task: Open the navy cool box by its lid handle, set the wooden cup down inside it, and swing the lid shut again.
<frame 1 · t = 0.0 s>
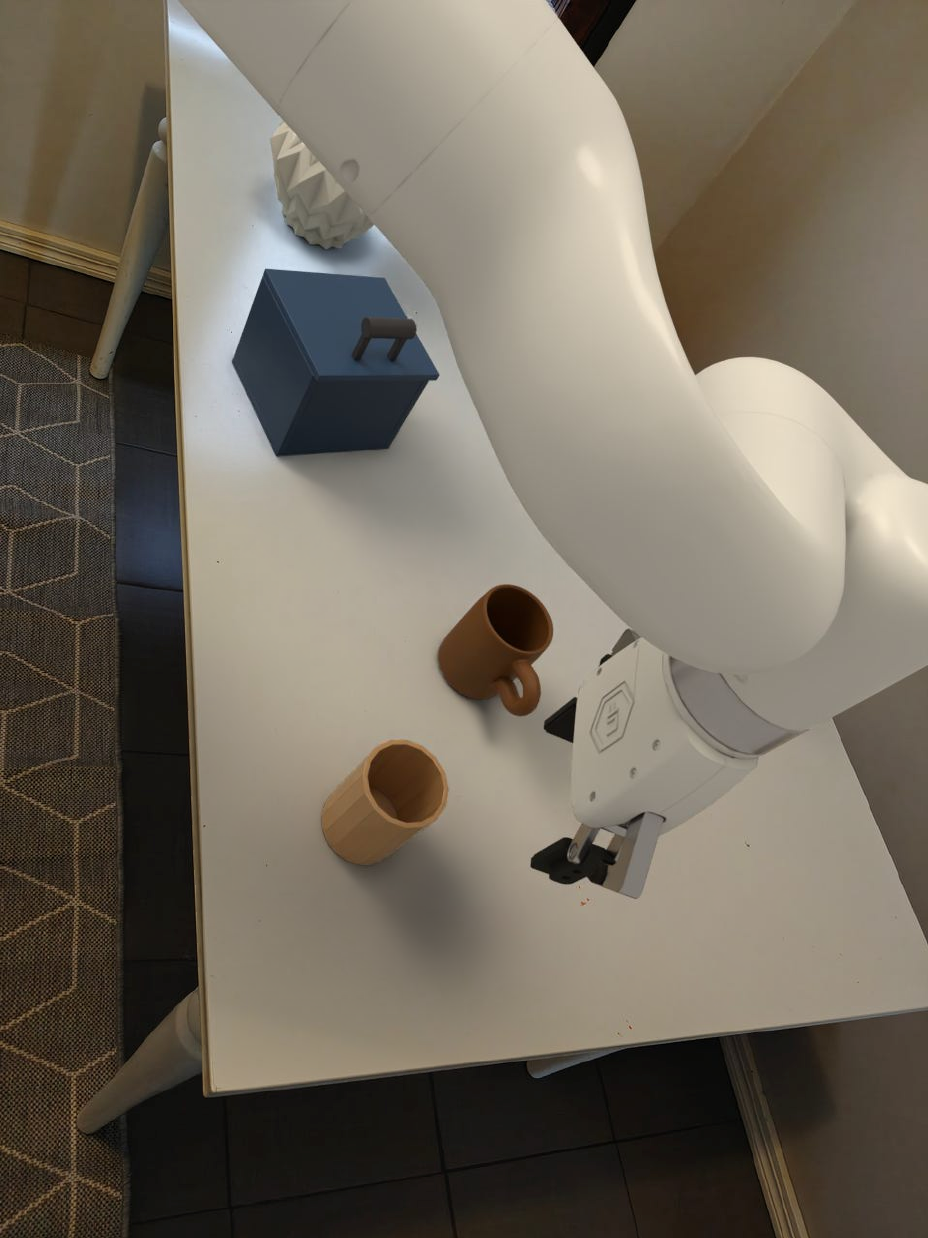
hand: (556, 798, 55), 19 cm above the table, tool pointing down, fingers open, 9 cm apart
mug: (474, 688, 82), on the table
wooden cup: (361, 823, 69), on the table
ornament: (666, 582, 105), on the table
cooler lid: (362, 307, 81), point 14 cm above the table, hinge at 0.0°
vase: (314, 228, 109), on the table
cooler: (311, 406, 91), on the table
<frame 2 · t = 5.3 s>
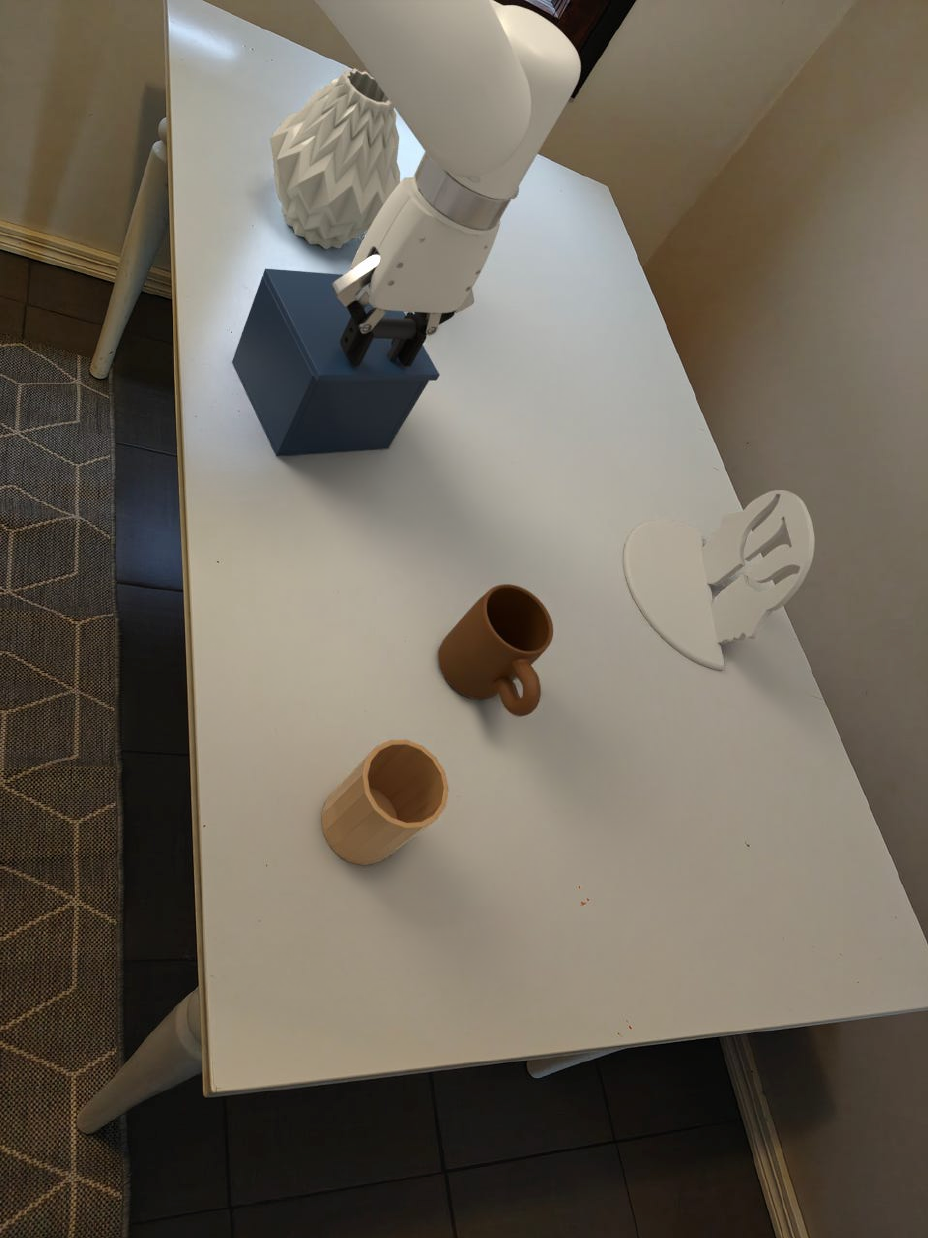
hand: (375, 353, 81), 13 cm above the table, tool pointing down, fingers closed on cooler lid, 5 cm apart
cooler lid: (362, 307, 81), point 14 cm above the table, hinge at 0.0°, touching gripper
everything else where it was.
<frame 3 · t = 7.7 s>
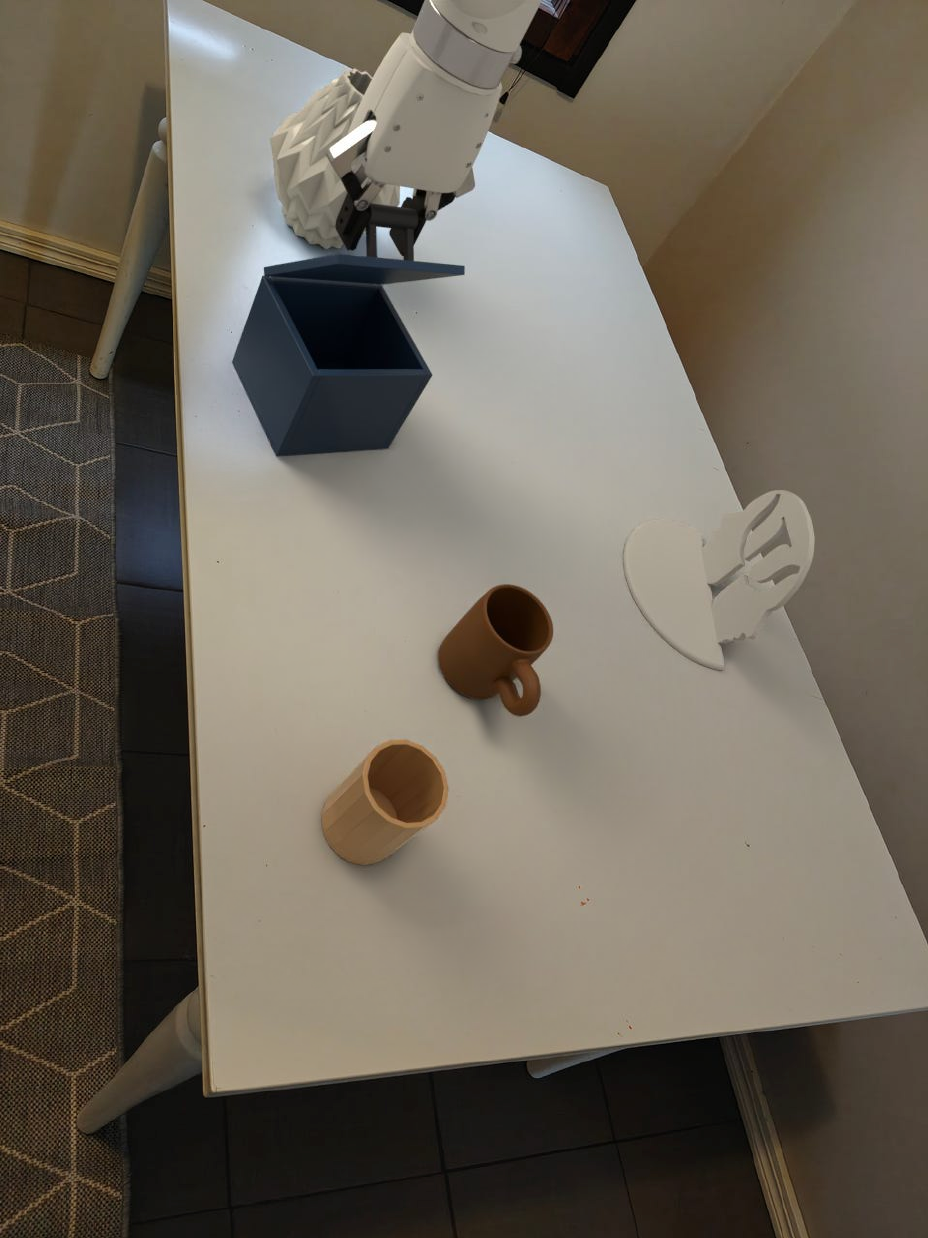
hand: (372, 240, 78), 19 cm above the table, tool pointing down, fingers closed on cooler lid, 5 cm apart
cooler lid: (362, 244, 79), point 18 cm above the table, hinge at 46.0°, touching gripper
everything else where it was.
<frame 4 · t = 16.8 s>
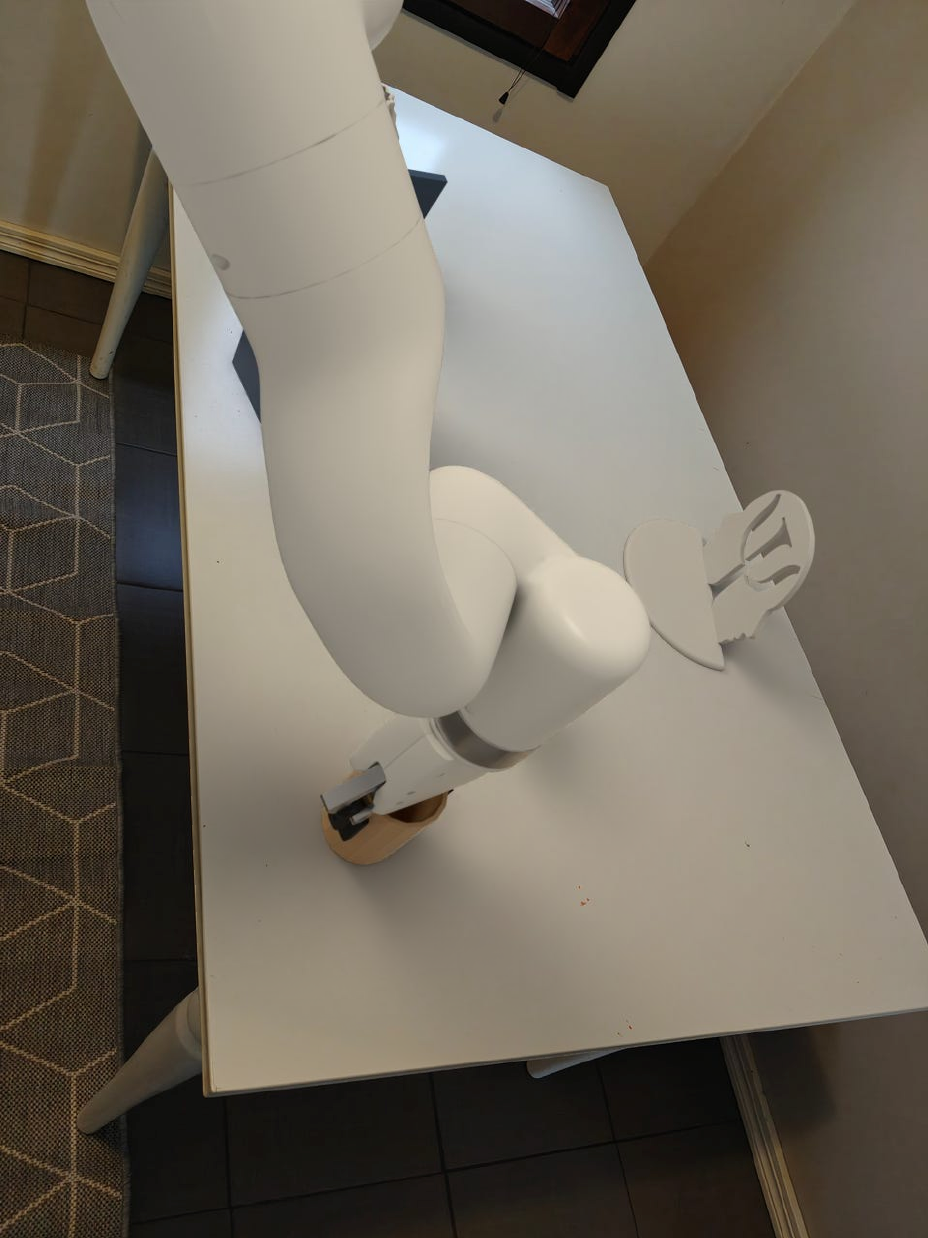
hand: (381, 805, 66), 4 cm above the table, tool pointing down, fingers closed on wooden cup, 7 cm apart
wooden cup: (361, 823, 69), on the table, touching gripper
cooler lid: (345, 205, 80), point 19 cm above the table, hinge at 83.0°
everything else where it was.
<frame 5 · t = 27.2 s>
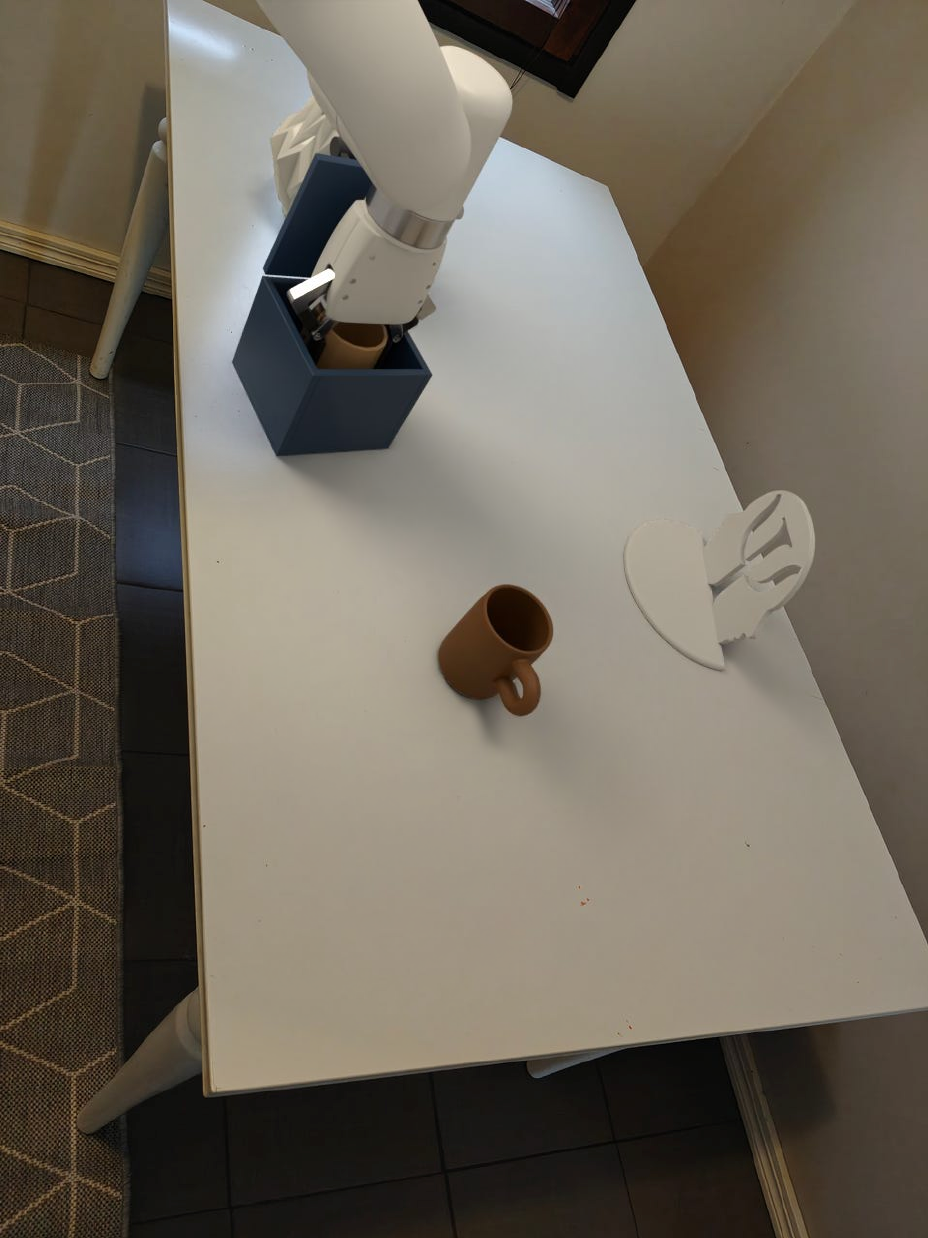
hand: (337, 360, 86), 7 cm above the table, tool pointing down, fingers closed on wooden cup, 6 cm apart
wooden cup: (323, 389, 89), point 3 cm above the table, touching gripper
everything else where it was.
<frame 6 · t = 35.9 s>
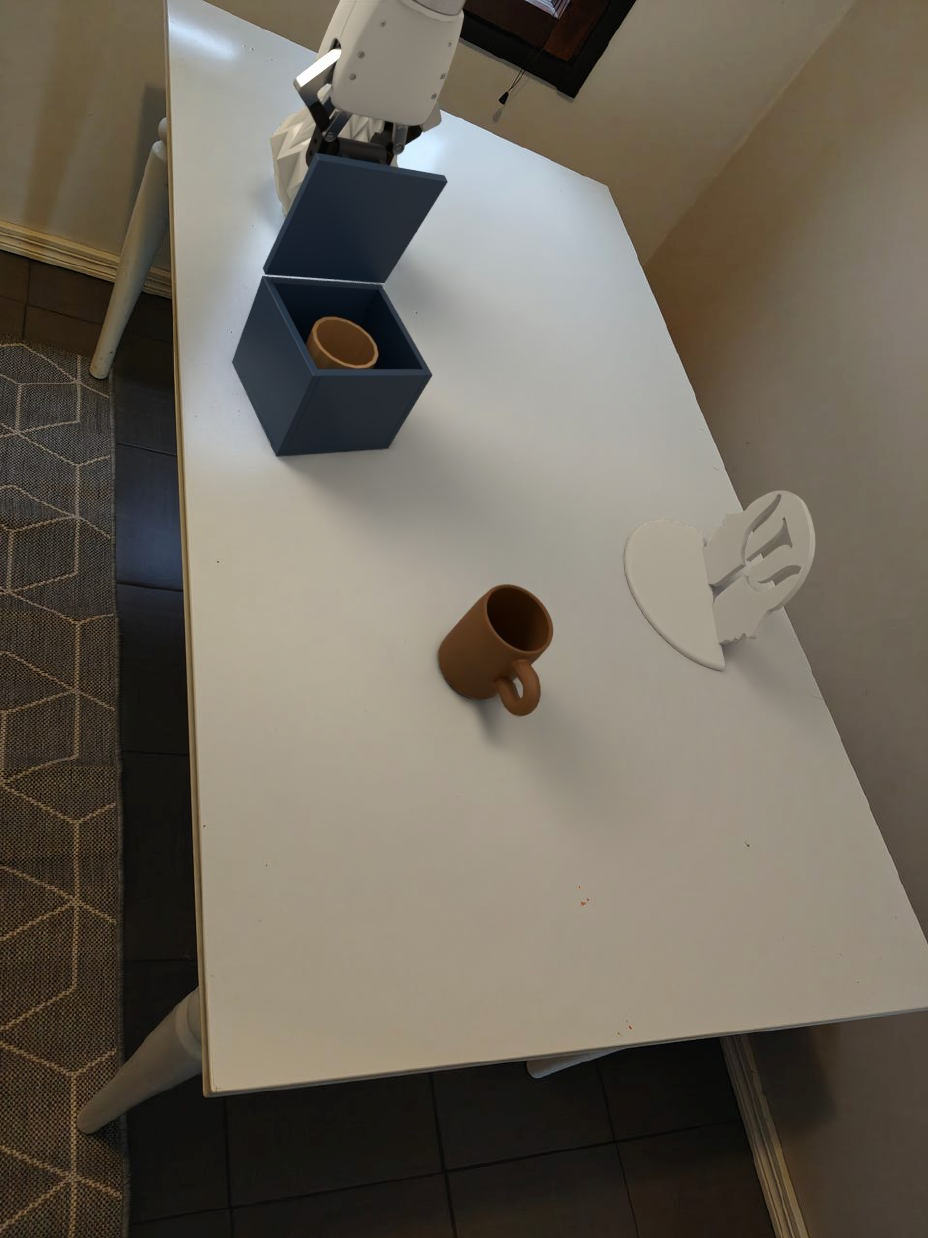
hand: (342, 175, 80), 20 cm above the table, tool pointing down, fingers closed on cooler lid, 5 cm apart
wooden cup: (315, 404, 91), point 1 cm above the table, touching cooler
cooler lid: (345, 205, 80), point 19 cm above the table, hinge at 83.0°, touching gripper
everything else where it was.
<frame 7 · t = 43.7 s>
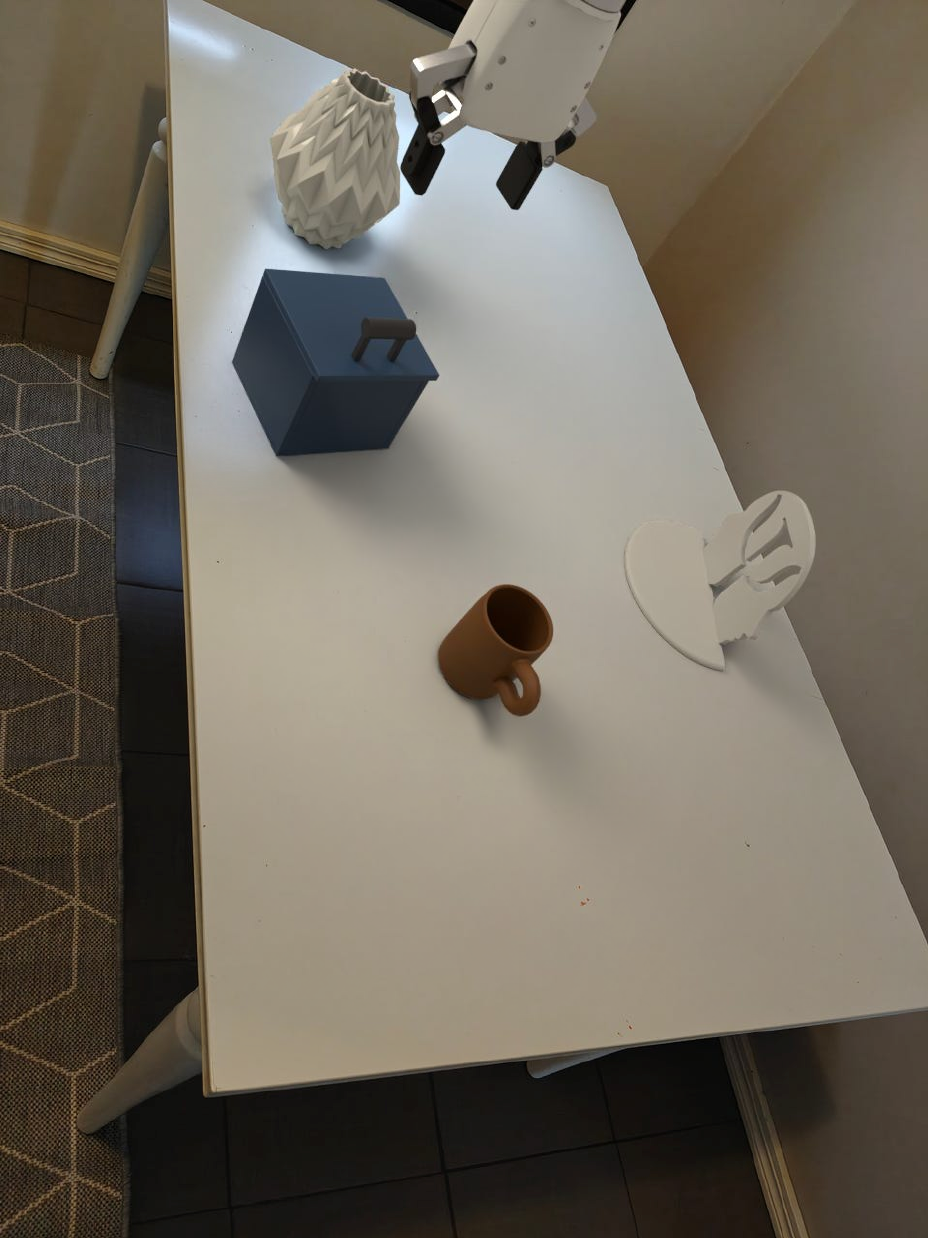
hand: (460, 190, 68), 30 cm above the table, tool pointing down, fingers open, 9 cm apart
cooler lid: (361, 307, 81), point 14 cm above the table, hinge at -0.2°, touching cooler
everything else where it was.
at the end: cooler lid reached +83° during the clip, +0° at the end; wooden cup inside the target area in the cooler (0.6 cm from its centre), point 0.8 cm above the cooler's base; cooler lid at +0° (first picture: +0°) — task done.
